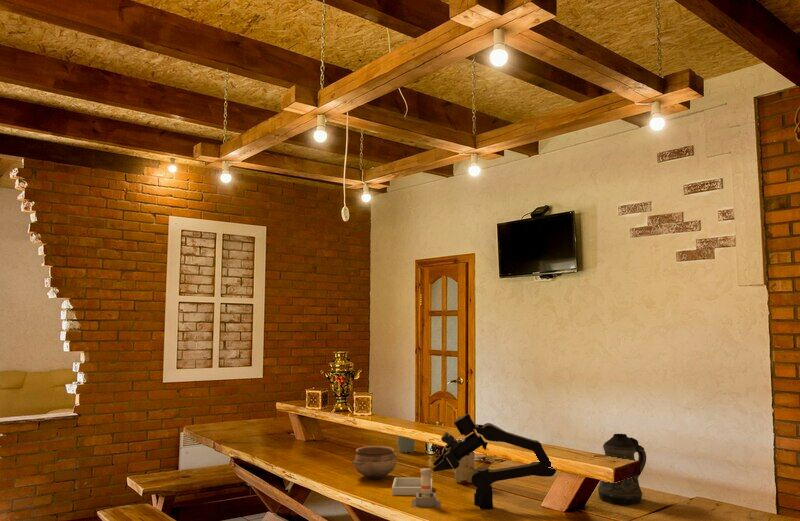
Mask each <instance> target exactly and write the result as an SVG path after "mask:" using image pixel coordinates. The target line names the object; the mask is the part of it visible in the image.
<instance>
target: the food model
mask: <svg viewBox="0 0 800 521" xmlns="http://www.w3.org/2000/svg"><path fill="white" fill-rule="evenodd" d="M466 437H467V436H464V435H461V436H457V437H454V438H455V439H462V440H463V439H464V438H466ZM475 457H476V456H475V451H474V452H471V453H470V455H469V456H465V457H463V458H462V459H461V461H459V467H458V468H456V469H455V470H454V469H453V470H454V481H456V482H457V483H459V484H462V485H463V484H464V485H471V484H472V481H471V473H472V471H473V470H474V469H476V467H475V466H476V465H475V463H476V462H475ZM472 485H473V484H472Z"/></svg>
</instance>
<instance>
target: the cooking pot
mask: <svg viewBox="0 0 800 521" xmlns="http://www.w3.org/2000/svg"><path fill="white" fill-rule="evenodd" d="M355 451H356V454H355V456H354V460H352V461H351V464H353V465H354V468H355V470H356V471H357V472H358V473H359V474H360V475H362V476H363V477H366V478H367V479H369V480H381V479H383V478H384V477H386V476H388V475H390V473H392V472H393V471H394V470H395V468H396V465H397V457H398V454H397V453H394V452H395V448H393V447H390V446H383V445H368V446H360V447H358V448H356V449H355Z"/></svg>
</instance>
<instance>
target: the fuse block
mask: <svg viewBox="0 0 800 521" xmlns="http://www.w3.org/2000/svg"><path fill="white" fill-rule="evenodd" d="M441 501H442V499H437V492H433V491H432V492H431V497H430V496H422V497H421V492H419V493H416V495H415V499H413V498H412V500H411V504H410V507H411V508H439V509H440V508H441V503H442V502H441Z"/></svg>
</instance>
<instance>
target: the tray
mask: <svg viewBox="0 0 800 521" xmlns="http://www.w3.org/2000/svg"><path fill="white" fill-rule="evenodd" d="M419 492H421V477H394V479H393V483H392V486H391V495H392V496H394V495H395V496H416V493H419ZM431 492H433V477H431Z"/></svg>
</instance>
